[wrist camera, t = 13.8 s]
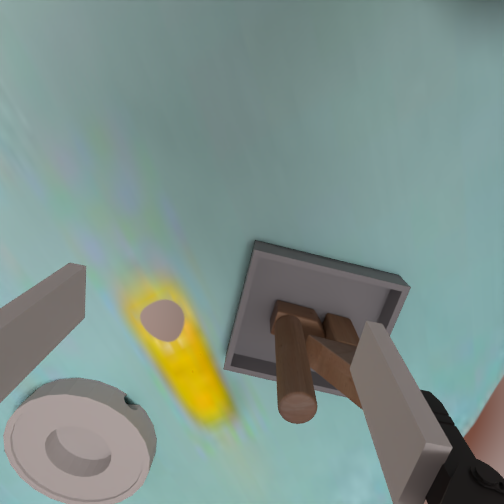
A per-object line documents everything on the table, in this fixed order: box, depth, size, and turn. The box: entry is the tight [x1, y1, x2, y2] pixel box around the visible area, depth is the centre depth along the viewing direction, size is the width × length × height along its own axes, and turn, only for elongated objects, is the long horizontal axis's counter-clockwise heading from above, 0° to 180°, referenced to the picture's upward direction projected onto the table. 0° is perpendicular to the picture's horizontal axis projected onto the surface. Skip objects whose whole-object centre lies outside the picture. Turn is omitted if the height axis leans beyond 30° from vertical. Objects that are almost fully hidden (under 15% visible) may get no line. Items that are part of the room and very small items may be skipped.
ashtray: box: [3, 378, 157, 504], centre depth 57 cm, size 23×23×4 cm
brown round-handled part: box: [270, 300, 363, 424], centre depth 40 cm, size 4×11×18 cm, turn 75°
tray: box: [224, 240, 411, 397], centre depth 48 cm, size 18×20×4 cm
